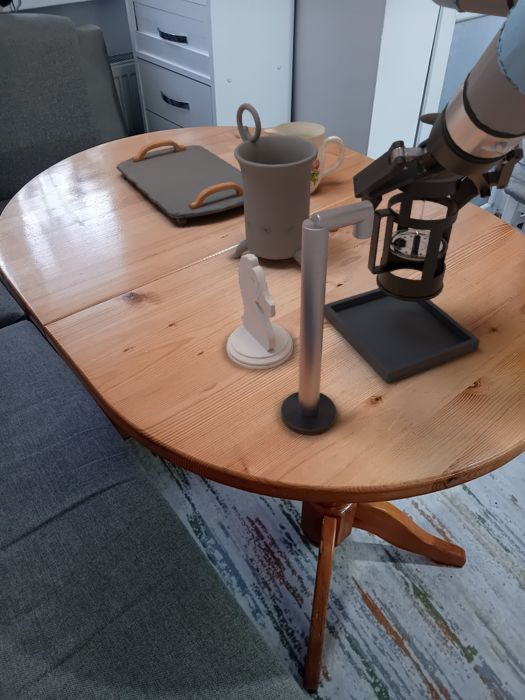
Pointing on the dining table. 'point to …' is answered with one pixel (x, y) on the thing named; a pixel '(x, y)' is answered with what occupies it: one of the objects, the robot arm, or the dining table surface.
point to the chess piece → (257, 323)
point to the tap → (318, 315)
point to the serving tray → (185, 180)
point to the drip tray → (399, 333)
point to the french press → (415, 237)
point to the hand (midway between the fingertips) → (409, 205)
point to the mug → (273, 190)
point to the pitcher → (316, 136)
